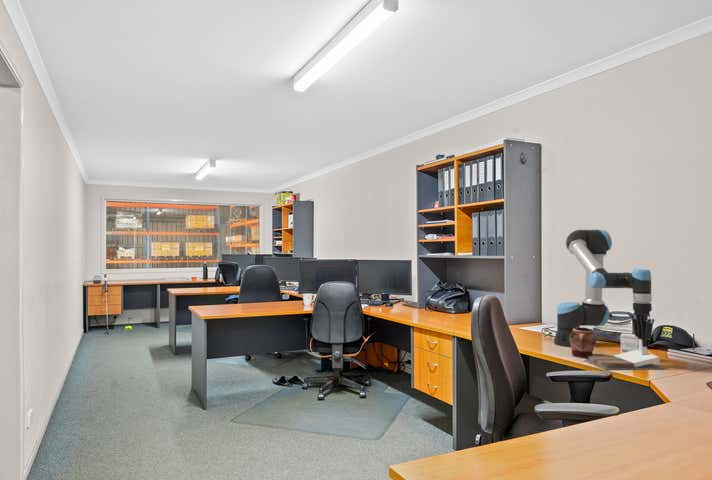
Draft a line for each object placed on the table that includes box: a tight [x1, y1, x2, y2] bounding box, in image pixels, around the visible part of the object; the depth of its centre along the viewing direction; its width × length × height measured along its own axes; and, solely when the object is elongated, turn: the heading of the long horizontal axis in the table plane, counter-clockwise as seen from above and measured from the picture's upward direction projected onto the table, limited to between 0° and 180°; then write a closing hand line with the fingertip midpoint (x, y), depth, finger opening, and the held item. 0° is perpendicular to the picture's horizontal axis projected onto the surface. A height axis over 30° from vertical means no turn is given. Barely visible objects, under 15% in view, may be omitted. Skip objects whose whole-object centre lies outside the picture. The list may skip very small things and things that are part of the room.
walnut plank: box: [587, 355, 633, 368], centre depth 220 cm, size 15×12×2 cm
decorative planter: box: [569, 327, 597, 359], centre depth 238 cm, size 20×12×14 cm, turn 156°
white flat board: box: [613, 350, 660, 367], centre depth 221 cm, size 15×12×2 cm
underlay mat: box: [583, 359, 665, 371], centre depth 221 cm, size 17×28×1 cm, turn 94°
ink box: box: [620, 333, 639, 354], centre depth 235 cm, size 9×5×12 cm, turn 53°
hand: (643, 353), depth 221 cm, fingers closed
